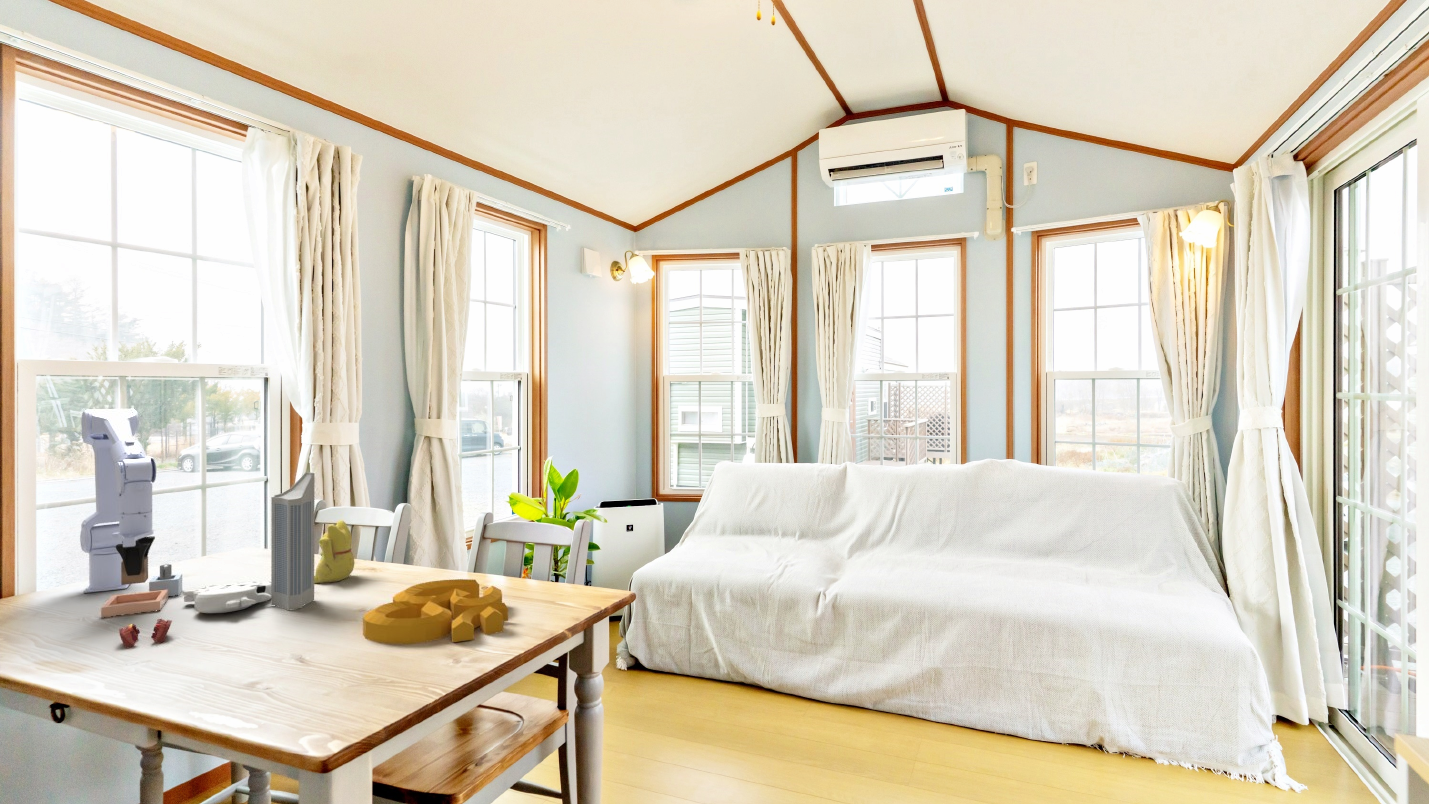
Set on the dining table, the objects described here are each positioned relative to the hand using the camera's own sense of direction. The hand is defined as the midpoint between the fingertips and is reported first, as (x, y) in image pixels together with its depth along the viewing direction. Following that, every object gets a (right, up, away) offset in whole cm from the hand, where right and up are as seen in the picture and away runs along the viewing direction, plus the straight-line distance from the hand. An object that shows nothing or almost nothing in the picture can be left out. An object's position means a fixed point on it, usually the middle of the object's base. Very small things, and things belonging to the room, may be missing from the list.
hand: (136, 572), depth 155 cm
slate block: (-1, -8, +10) cm, 13 cm away
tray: (0, -8, 0) cm, 8 cm away
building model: (+32, -9, +4) cm, 34 cm away
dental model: (+18, -9, -19) cm, 28 cm away
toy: (+19, -9, +3) cm, 21 cm away
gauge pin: (-1, -8, +10) cm, 13 cm away
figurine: (+31, -8, +24) cm, 40 cm away
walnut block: (0, -2, 0) cm, 2 cm away
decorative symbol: (+72, -10, -5) cm, 73 cm away
